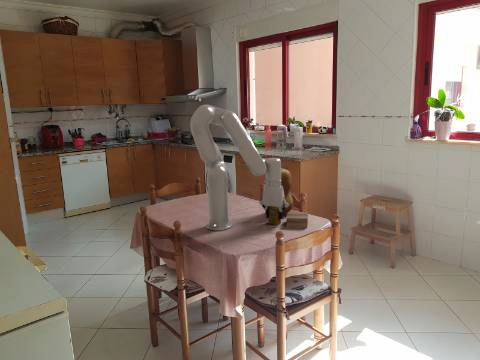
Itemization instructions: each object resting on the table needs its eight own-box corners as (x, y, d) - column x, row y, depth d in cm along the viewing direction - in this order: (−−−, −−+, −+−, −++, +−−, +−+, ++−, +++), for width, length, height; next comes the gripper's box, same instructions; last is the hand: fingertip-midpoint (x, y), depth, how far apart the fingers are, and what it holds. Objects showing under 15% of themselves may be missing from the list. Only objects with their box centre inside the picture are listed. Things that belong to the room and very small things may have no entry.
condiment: (284, 223, 190) (284, 200, 188) (273, 227, 185) (273, 204, 182) (273, 220, 195) (273, 198, 193) (262, 224, 190) (261, 201, 187)
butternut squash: (296, 211, 209) (296, 167, 203) (288, 219, 197) (288, 172, 191) (273, 209, 215) (272, 165, 209) (263, 215, 203) (263, 170, 198)
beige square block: (307, 228, 183) (307, 218, 182) (286, 227, 185) (286, 218, 184) (307, 221, 192) (307, 212, 191) (288, 221, 194) (288, 211, 193)
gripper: (254, 183, 186) (255, 218, 190) (287, 186, 178) (288, 222, 182) (260, 180, 192) (261, 214, 196) (292, 182, 185) (293, 217, 189)
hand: (274, 217), depth 189 cm, fingers closed on condiment, 6 cm apart
